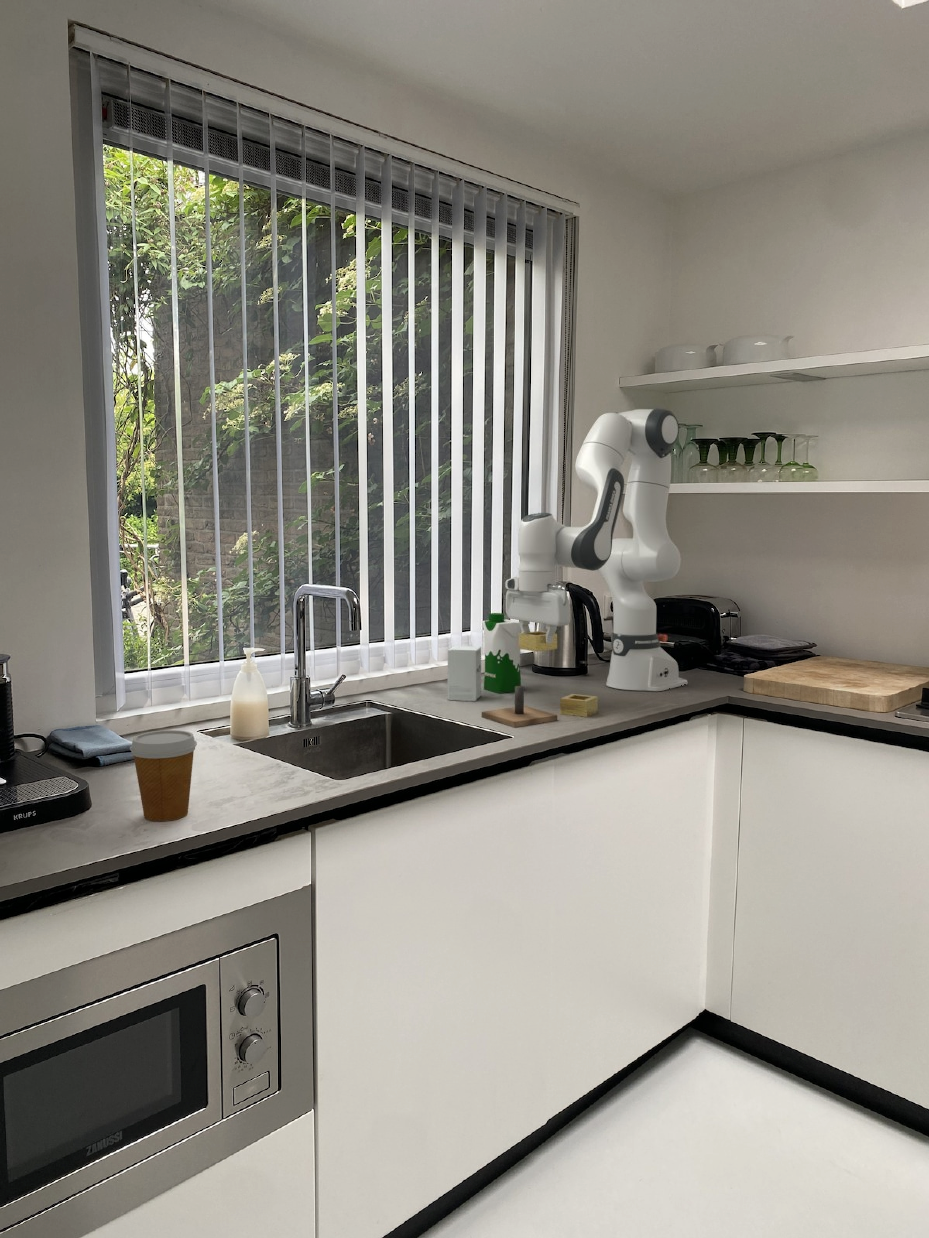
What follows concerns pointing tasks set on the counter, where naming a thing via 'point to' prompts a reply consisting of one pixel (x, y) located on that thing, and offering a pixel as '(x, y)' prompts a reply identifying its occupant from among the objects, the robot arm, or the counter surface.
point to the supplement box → (464, 673)
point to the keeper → (519, 713)
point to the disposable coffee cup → (164, 772)
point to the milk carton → (501, 654)
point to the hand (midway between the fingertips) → (537, 641)
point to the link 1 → (536, 641)
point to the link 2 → (579, 705)
